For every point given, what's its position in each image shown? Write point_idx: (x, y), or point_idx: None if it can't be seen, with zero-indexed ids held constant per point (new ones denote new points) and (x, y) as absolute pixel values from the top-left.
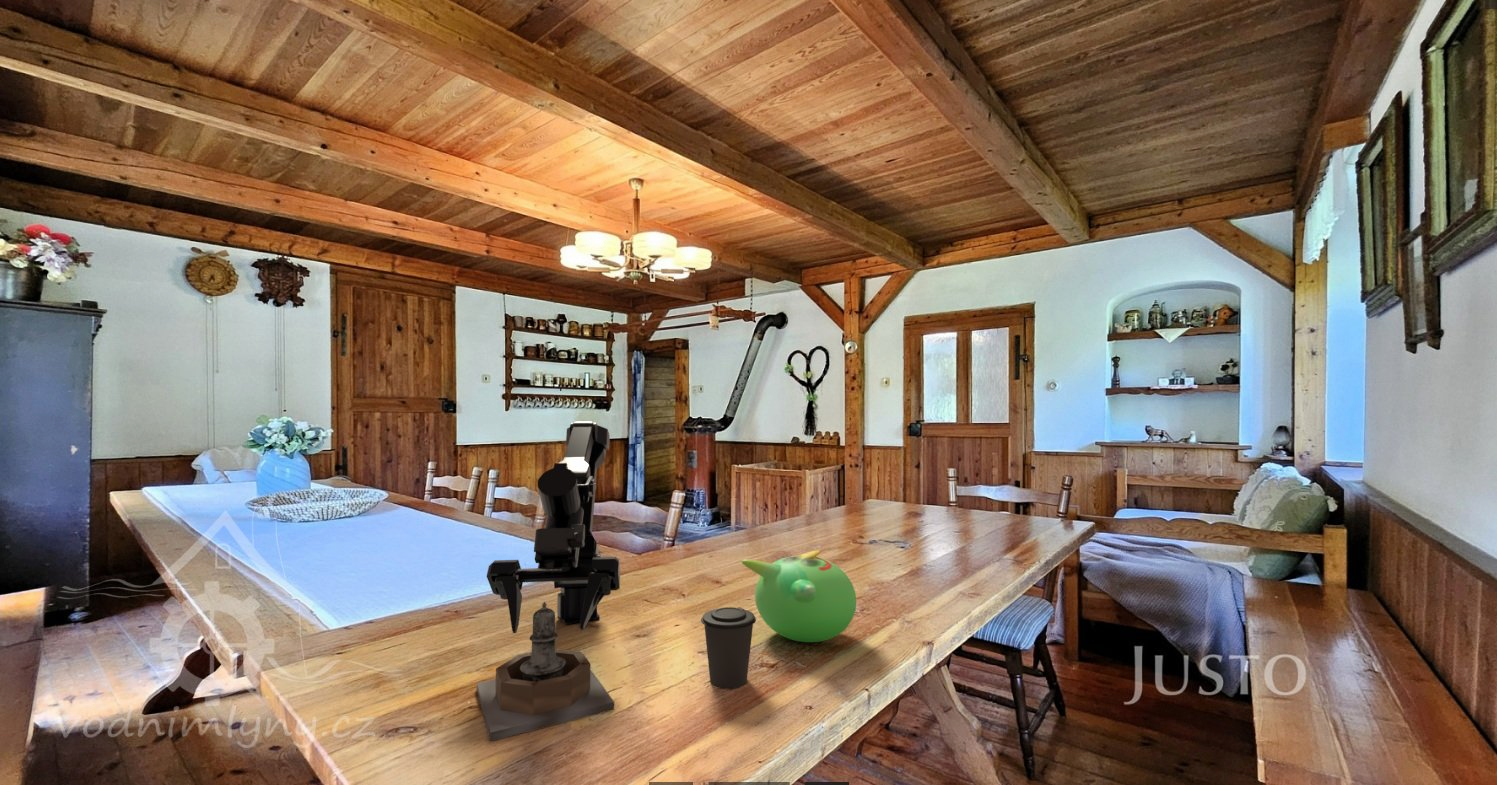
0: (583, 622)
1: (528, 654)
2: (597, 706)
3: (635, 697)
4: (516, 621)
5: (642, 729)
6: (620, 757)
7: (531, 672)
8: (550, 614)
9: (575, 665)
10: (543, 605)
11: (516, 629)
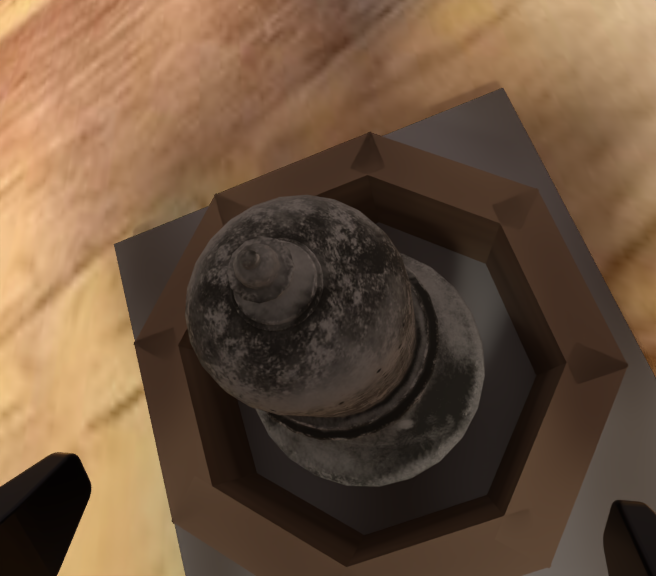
0: (31, 467)
1: (481, 555)
2: (169, 223)
3: (56, 330)
4: (642, 572)
5: (68, 133)
6: (135, 17)
7: (404, 262)
8: (218, 235)
9: (220, 443)
10: (267, 245)
11: (612, 561)
